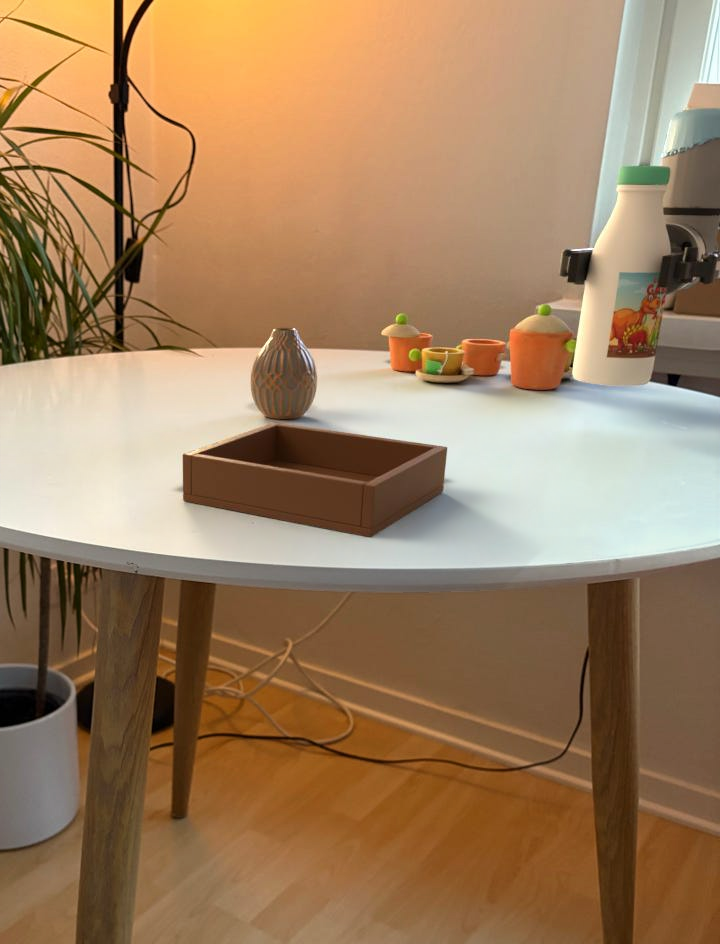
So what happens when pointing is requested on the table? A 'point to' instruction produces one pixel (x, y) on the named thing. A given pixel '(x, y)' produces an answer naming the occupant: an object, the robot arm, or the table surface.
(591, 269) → the milk bottle
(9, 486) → the table surface
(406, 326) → the toy tea set
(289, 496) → the tray
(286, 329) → the vase
